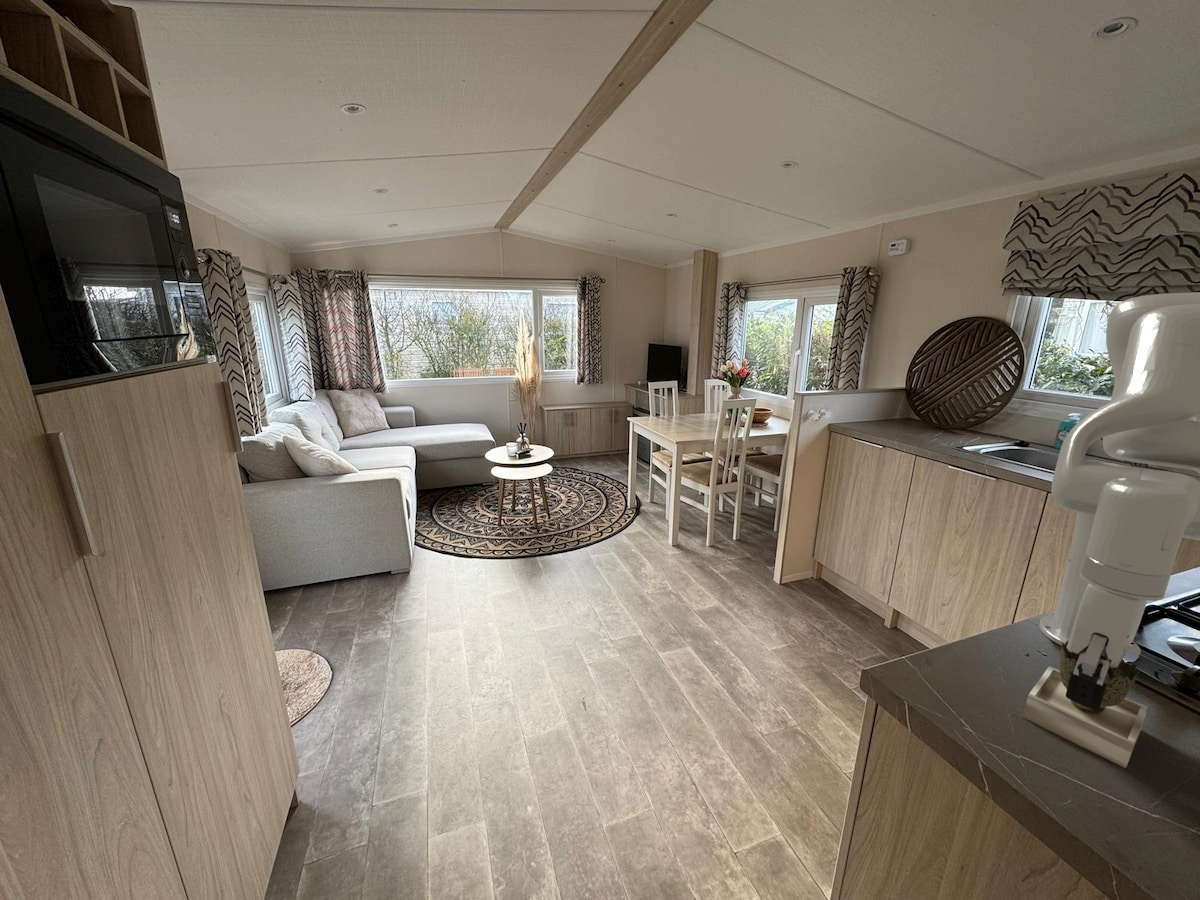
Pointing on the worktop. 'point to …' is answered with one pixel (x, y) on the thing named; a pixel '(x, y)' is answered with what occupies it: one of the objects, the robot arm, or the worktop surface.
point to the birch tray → (1085, 720)
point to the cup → (1116, 681)
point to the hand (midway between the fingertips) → (1090, 687)
